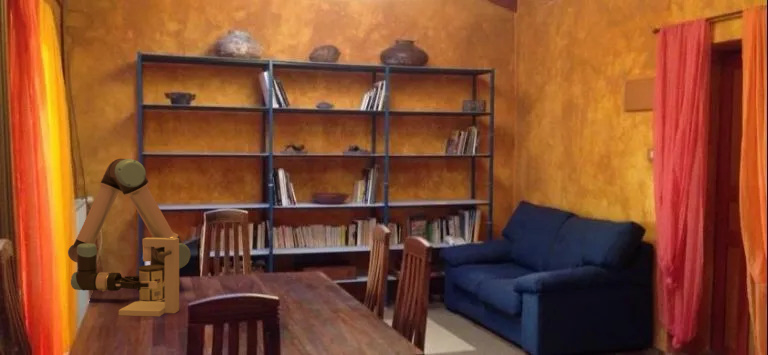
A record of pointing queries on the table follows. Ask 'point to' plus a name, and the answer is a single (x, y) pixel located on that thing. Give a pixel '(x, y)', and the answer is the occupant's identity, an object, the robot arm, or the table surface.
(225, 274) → the table surface
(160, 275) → the coffee can
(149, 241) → the press
